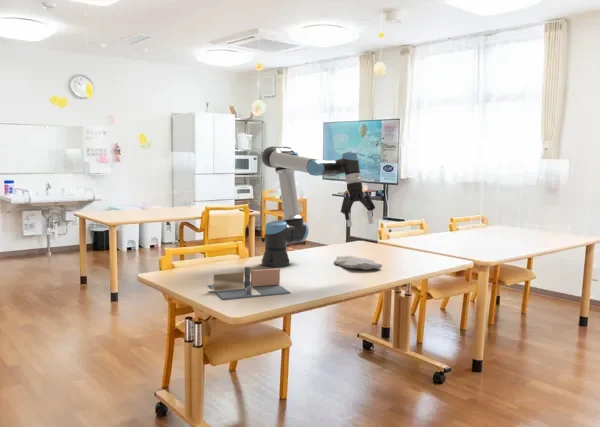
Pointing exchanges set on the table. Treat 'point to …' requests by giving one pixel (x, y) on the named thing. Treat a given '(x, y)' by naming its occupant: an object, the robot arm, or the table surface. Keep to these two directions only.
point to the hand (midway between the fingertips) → (360, 225)
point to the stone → (357, 263)
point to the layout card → (258, 288)
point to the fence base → (232, 280)
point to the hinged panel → (265, 277)
